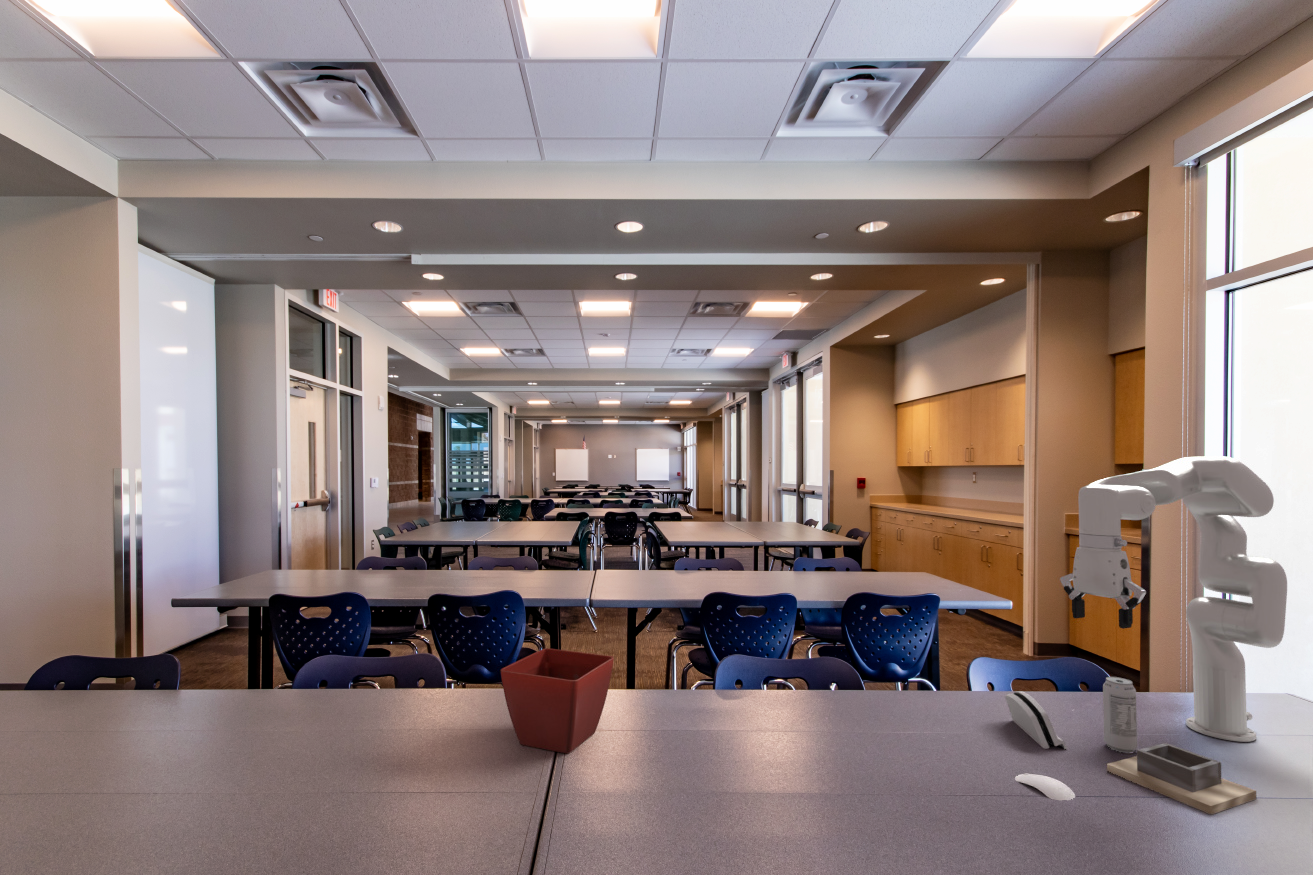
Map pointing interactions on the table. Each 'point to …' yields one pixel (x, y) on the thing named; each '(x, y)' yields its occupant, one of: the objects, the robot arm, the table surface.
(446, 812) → the table surface
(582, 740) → the plant pot
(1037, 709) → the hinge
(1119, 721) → the energy drink can
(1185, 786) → the socket board
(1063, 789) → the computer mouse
